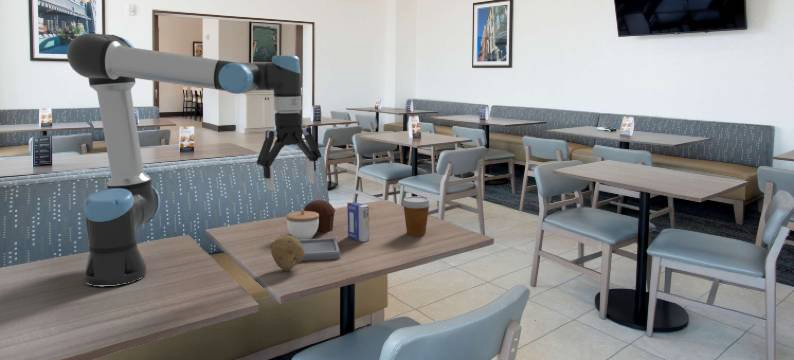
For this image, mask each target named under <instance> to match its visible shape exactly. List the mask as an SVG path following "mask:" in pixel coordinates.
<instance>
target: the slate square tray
mask: <svg viewBox="0 0 794 360" xmlns="http://www.w3.org/2000/svg"><path fill="white" fill-rule="evenodd" d="M299 241H300V243H301V244H302V246H303V248H304V252H305V255H304V258H303V260H302V261H301V262H303V261H306V262H307V261H320V260H322V261H323V260H335V259H341V253H340V248H339V245H338V241H337V239H336V237H327V238H324V237H323V238H311V239H306V240H299Z"/></svg>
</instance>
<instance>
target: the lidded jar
mask: <svg viewBox="0 0 794 360" xmlns="http://www.w3.org/2000/svg"><path fill="white" fill-rule="evenodd" d="M285 219H286V226H287V227H286V228H287V230H288V232H289V234H290V236H293V237H295V238H296V239H298V240H306V239H313V237H314V236H315V235H316V234H317V233H316V232H317V229H318V225H319V214H318V213H316V212H312V211H304V210H303V209H301V210H300V211H293V212H289V213H287V214H286V215H285Z"/></svg>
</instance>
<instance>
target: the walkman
mask: <svg viewBox="0 0 794 360" xmlns="http://www.w3.org/2000/svg"><path fill="white" fill-rule="evenodd" d="M346 205H347V206H346V207H347V238H350V239H353V240H356V241H359V242H361V243H362V242H363V243H364V242H367V241H368V242H369V241H370V213H369V210H370V208H369V205H367V204H363V203H360V202H356V201H350V202H347V204H346Z"/></svg>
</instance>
